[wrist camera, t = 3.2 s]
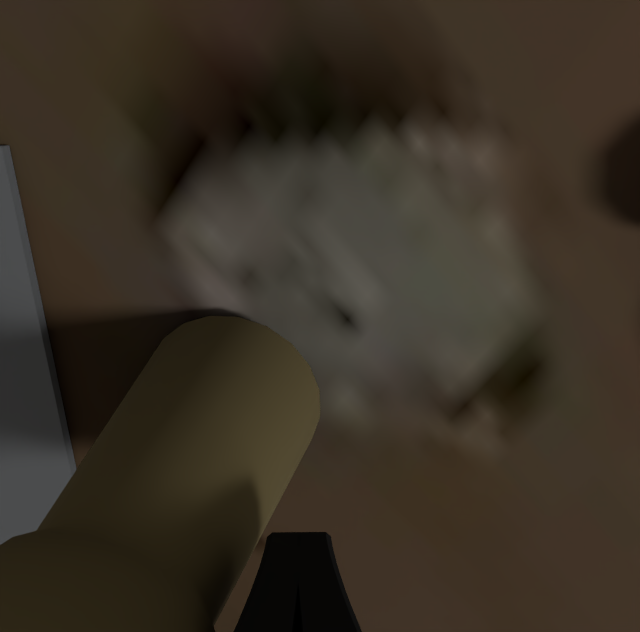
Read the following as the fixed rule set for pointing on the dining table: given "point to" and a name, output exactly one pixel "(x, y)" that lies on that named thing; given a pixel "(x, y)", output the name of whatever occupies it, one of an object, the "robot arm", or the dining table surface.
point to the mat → (26, 380)
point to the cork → (169, 489)
